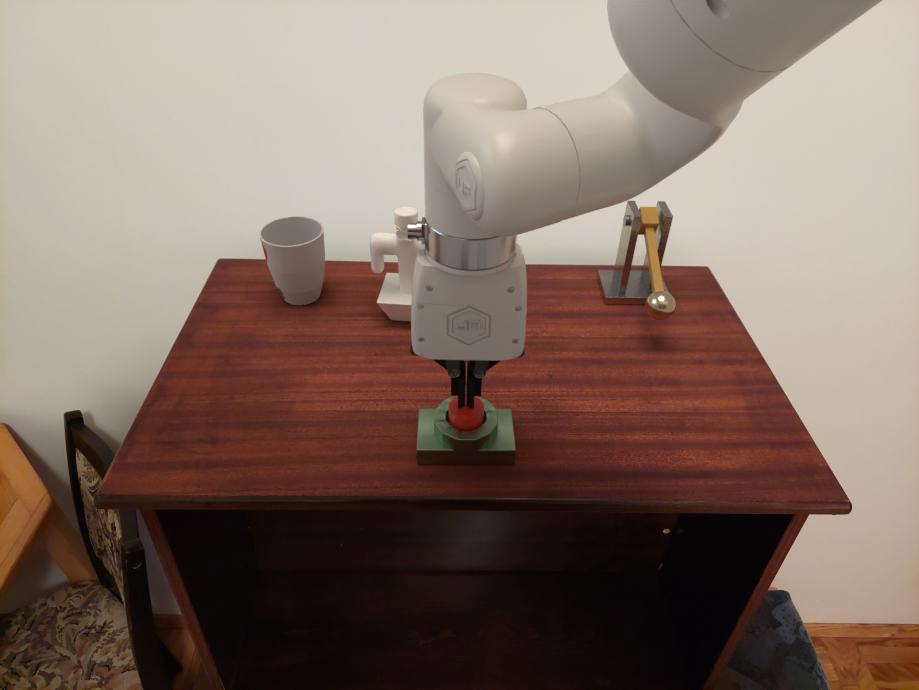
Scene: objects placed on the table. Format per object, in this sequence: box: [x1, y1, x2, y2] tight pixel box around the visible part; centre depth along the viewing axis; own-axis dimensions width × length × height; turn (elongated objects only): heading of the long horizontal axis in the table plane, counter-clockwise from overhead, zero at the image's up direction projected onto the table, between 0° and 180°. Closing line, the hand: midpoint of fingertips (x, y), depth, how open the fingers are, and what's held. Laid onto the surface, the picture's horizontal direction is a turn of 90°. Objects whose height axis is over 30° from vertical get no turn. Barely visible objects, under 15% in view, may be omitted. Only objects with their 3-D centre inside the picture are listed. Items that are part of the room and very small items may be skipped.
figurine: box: [369, 206, 422, 322], centre depth 82 cm, size 7×9×15 cm
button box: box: [415, 396, 517, 465], centre depth 67 cm, size 10×6×4 cm, turn 91°
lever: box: [638, 206, 677, 321], centre depth 82 cm, size 16×4×4 cm, turn 0°
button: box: [448, 394, 484, 431], centre depth 65 cm, size 4×4×2 cm
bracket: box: [596, 200, 674, 306], centre depth 88 cm, size 7×9×13 cm
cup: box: [258, 215, 326, 306], centre depth 86 cm, size 8×8×10 cm
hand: (465, 398), depth 64 cm, fingers closed
